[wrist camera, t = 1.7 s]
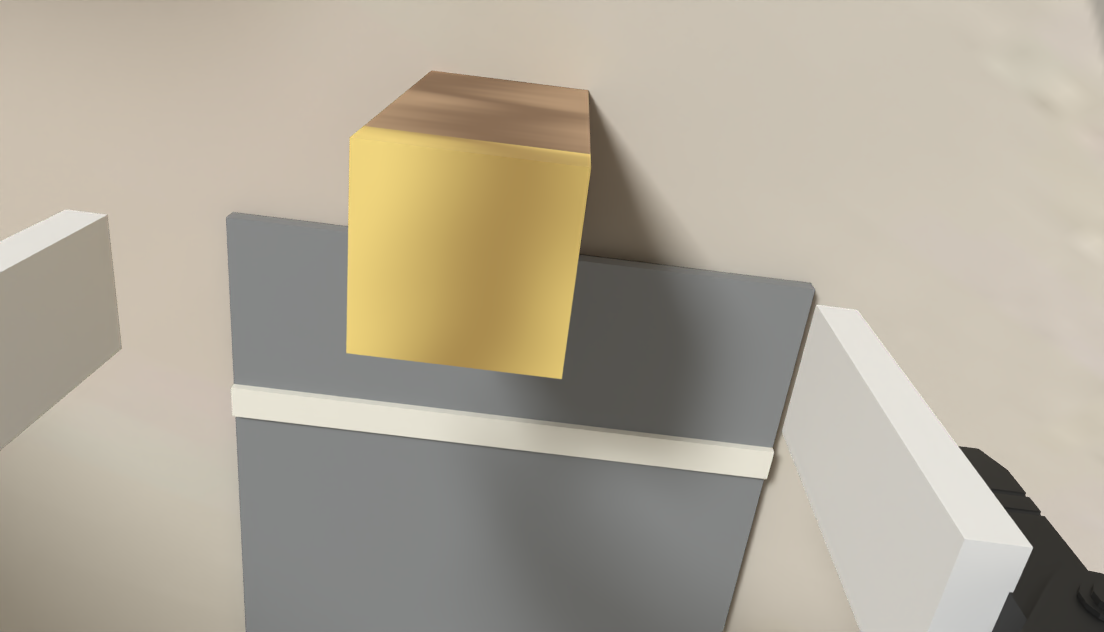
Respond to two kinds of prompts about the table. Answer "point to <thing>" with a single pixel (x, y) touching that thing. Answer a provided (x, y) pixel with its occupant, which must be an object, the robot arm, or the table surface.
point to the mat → (501, 452)
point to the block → (468, 224)
